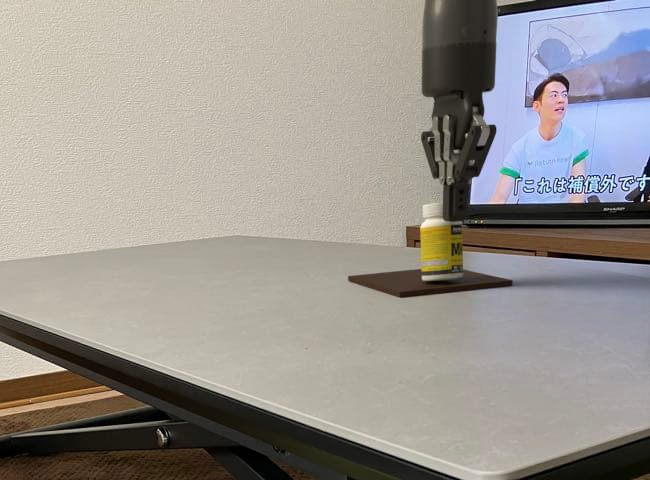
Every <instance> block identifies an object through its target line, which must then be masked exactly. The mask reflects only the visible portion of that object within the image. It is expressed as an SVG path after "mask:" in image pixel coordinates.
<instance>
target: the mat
mask: <svg viewBox="0 0 650 480" xmlns="http://www.w3.org/2000/svg"><path fill="white" fill-rule="evenodd" d="M421 269H422V268H417V269H416V268H415V269H405V270H396V271H386V272H376V273H375V272H374V273H365V274H355V275H348V276H347V281H348V282H351V283H354V284H357V285H360V286H363V287H366V288H369V289H372V290H376V291H379V292H382V293H386V294H388V295H391V296H394V297H397V298H406V297H407V298H408V297H416V296H425V295H427V296H428V295H435V294H444V293H445V294H446V293H454V292H464V291H472V290H484V289H493V288H503V287H510V286H511V287H512V286H513V279H509V278H504V277H500V276H495V275H490V274H486V273H482V272H477V271H473V270H467V269H465V268H463V277H462V278H459V279H449V280H438V281H423V280H422V270H421Z"/></svg>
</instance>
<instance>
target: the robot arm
mask: <svg viewBox="0 0 650 480" xmlns="http://www.w3.org/2000/svg"><path fill="white" fill-rule="evenodd" d="M498 14H499V13H498V1H497V0H424V6H423V14H422V26H421V27H422V28H421V29H422V30H421V31H422V33H421V47H422V48H421V94H422V96H424V97H425V98H433V100H434V101H433V107H432V113H431V123H432V126H431V128H430V130H429V131H428V130H427V131H426V130H425V131H422V132H421V134H420V141H421V143H422V144H421V145H422V147H423V151H424V154H425V157H426V160H427V163H428V167H429V170H430V173H431V176H432V178H433V180H437V179H438V180H439V181H438V182H439V184H440V186H442V202H443V220H444V221H449V222H456V221H461V222H464V221H465V220H466V219H467V216H468V191H469V190H468V188H469V187H468V186H469V184H471V183H472V180H473V179H474V178H478V177H480V175H481V172H482V170H483V168H484V165H485V163H486V160H487V157H488V155H489V152H490V150H491V147H492V145H493V143H494V140H495V138H496V135H497V126H496V124H487V122H486V121H485V119H484V117H485V104H484V98H483V97H484V96H483V95H484V94H488V93H491V92H493V90H494V89H495V86H496V72H497V71H496V68H497V66H496V65H497V44H498V43H497V42H498V23H499V22H498V19H499V18H498V17H499V15H498ZM455 151H457V152H455Z"/></svg>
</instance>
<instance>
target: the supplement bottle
mask: <svg viewBox="0 0 650 480" xmlns="http://www.w3.org/2000/svg"><path fill="white" fill-rule="evenodd" d="M422 218H423V219H424V221H423V222H422V223H421V224H420V227H419V233H420V234H419V235H420V237H419V238H420V267H421V268H420V269H421V270H422V280H423V281H438V280H449V279H459V278H462V277H463V269H464V254H463V252H464V250H463V249H464V248H463V247H464V246H463V245H464V244H463V221H456V222H449V221H444V220H443V201H441V202H433V203H427V204H423V205H422Z"/></svg>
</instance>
